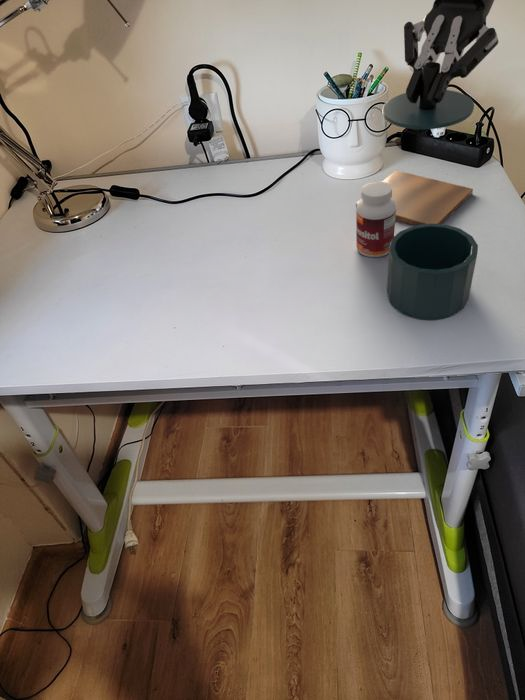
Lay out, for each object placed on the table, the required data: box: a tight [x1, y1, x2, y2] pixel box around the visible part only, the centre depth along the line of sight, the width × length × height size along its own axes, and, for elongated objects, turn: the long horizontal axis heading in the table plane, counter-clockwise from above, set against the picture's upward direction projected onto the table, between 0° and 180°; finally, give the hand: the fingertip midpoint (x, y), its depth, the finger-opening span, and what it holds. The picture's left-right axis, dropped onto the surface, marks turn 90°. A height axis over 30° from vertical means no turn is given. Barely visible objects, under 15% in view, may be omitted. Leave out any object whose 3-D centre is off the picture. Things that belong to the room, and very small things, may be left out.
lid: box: [382, 61, 475, 130], centre depth 71 cm, size 13×13×7 cm
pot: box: [386, 223, 479, 321], centre depth 73 cm, size 12×12×8 cm
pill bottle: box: [355, 180, 396, 258], centre depth 82 cm, size 6×6×11 cm
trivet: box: [355, 169, 474, 226], centre depth 94 cm, size 16×14×1 cm
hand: (421, 101), depth 71 cm, fingers closed on lid, 2 cm apart
